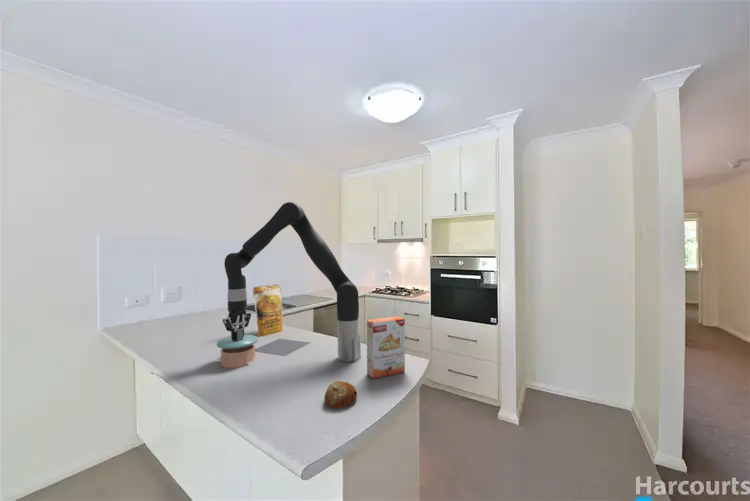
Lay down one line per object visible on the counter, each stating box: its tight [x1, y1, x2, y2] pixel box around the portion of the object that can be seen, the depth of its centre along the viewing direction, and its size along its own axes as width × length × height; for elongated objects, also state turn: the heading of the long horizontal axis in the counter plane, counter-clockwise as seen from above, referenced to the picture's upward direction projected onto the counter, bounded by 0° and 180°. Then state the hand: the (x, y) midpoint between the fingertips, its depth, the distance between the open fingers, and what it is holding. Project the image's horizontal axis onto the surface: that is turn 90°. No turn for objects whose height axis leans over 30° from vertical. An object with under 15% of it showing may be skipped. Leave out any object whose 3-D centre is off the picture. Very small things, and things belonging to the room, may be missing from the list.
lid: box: [216, 327, 259, 349], centre depth 129 cm, size 16×16×6 cm
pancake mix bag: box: [252, 284, 284, 338], centre depth 170 cm, size 7×19×28 cm, turn 141°
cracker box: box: [366, 315, 406, 379], centre depth 115 cm, size 14×6×21 cm, turn 117°
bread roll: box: [324, 380, 358, 410], centre depth 94 cm, size 10×10×8 cm
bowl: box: [220, 344, 256, 369], centre depth 129 cm, size 13×13×6 cm
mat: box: [255, 338, 311, 357], centre depth 146 cm, size 20×20×1 cm
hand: (237, 338), depth 129 cm, fingers closed on lid, 3 cm apart
